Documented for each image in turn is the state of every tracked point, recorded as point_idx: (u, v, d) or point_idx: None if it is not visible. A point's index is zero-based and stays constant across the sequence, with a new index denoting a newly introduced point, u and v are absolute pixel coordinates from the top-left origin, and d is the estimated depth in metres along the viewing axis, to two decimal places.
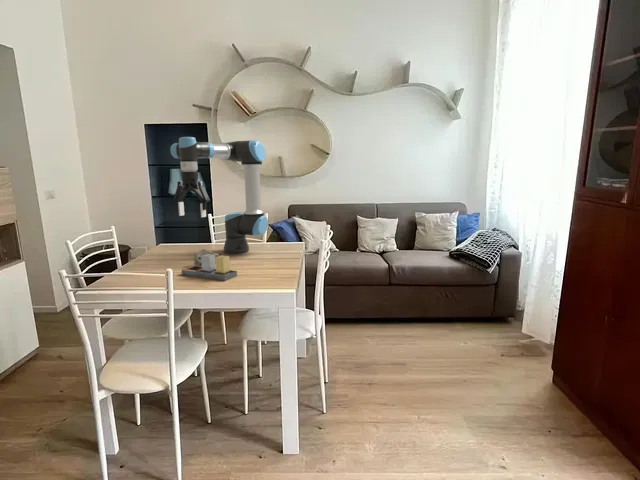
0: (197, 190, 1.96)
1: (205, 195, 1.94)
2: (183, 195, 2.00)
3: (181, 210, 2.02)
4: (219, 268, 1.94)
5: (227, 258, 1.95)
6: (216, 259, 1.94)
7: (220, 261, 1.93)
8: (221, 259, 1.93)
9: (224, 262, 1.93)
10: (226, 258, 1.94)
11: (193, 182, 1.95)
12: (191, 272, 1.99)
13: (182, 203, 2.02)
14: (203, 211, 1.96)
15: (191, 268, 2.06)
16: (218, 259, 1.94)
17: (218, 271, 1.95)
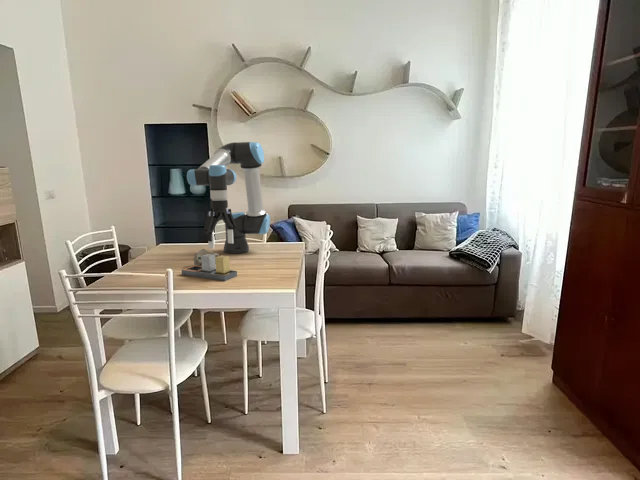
0: (213, 220, 1.88)
1: (206, 226, 1.84)
2: (226, 223, 1.96)
3: (229, 237, 1.99)
4: (219, 268, 1.94)
5: (227, 258, 1.95)
6: (216, 259, 1.94)
7: (220, 261, 1.93)
8: (221, 259, 1.93)
9: (224, 262, 1.93)
10: (226, 258, 1.94)
11: None
12: (191, 272, 1.99)
13: (230, 231, 1.98)
14: (210, 242, 1.87)
15: (191, 268, 2.06)
16: (218, 259, 1.93)
17: (218, 271, 1.95)
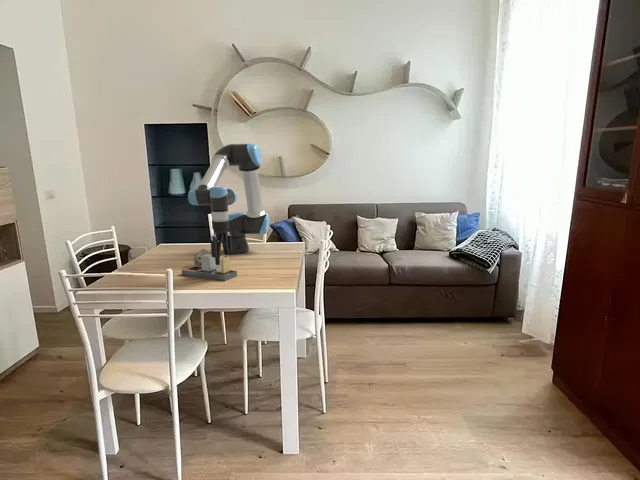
0: (217, 242, 1.91)
1: (212, 251, 1.89)
2: (224, 246, 1.96)
3: None
4: None
5: (227, 258, 1.95)
6: None
7: None
8: None
9: (224, 262, 1.93)
10: (226, 258, 1.94)
11: None
12: (191, 272, 1.99)
13: None
14: (218, 265, 1.93)
15: (191, 268, 2.06)
16: None
17: (218, 271, 1.95)
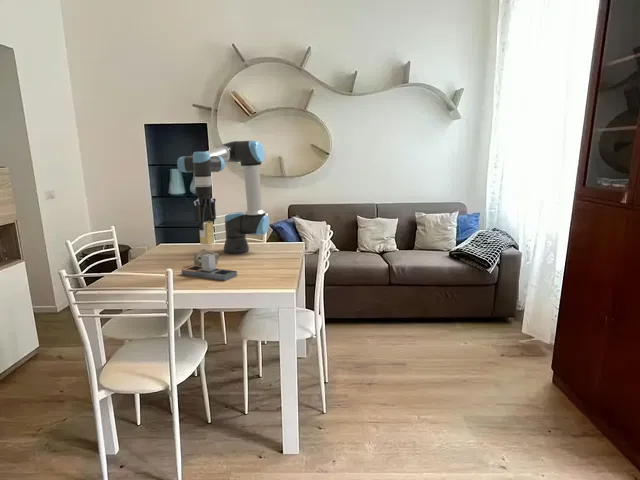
0: (200, 208, 1.93)
1: (196, 216, 1.90)
2: (208, 212, 1.97)
3: None
4: None
5: (211, 224, 1.96)
6: None
7: None
8: (205, 224, 1.94)
9: (208, 228, 1.95)
10: (210, 224, 1.96)
11: None
12: (191, 272, 1.99)
13: None
14: (201, 231, 1.94)
15: (191, 268, 2.06)
16: None
17: None
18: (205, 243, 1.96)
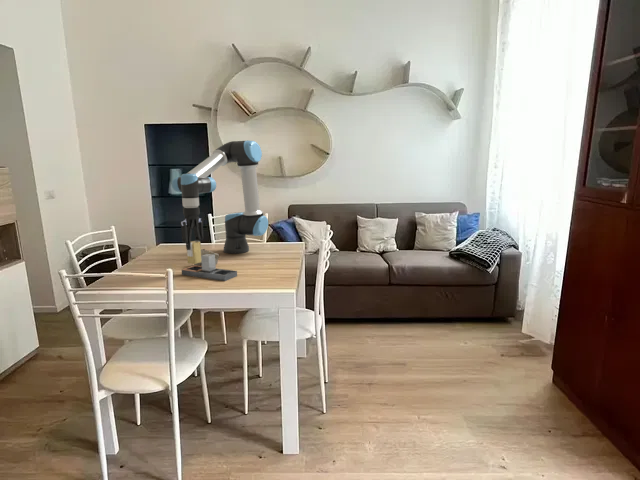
0: (188, 228, 1.98)
1: (183, 236, 1.96)
2: (195, 232, 2.02)
3: None
4: None
5: (198, 243, 2.01)
6: None
7: None
8: (192, 244, 1.99)
9: (195, 247, 2.00)
10: (197, 243, 2.01)
11: None
12: (191, 272, 1.99)
13: None
14: (188, 250, 2.00)
15: (191, 268, 2.06)
16: None
17: (189, 256, 2.01)
18: (192, 262, 2.01)
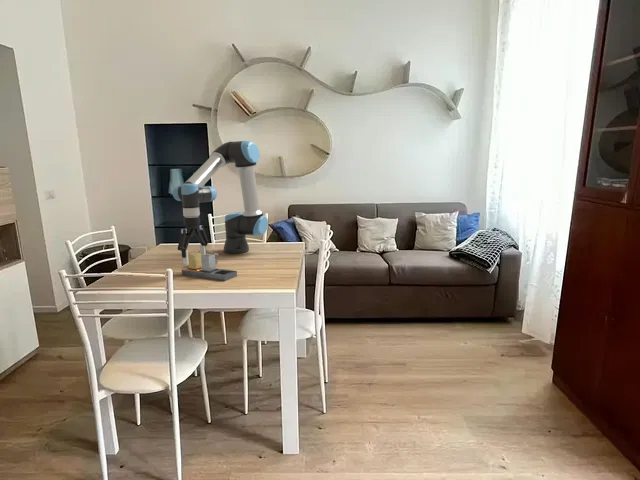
0: (186, 237, 1.98)
1: (179, 243, 1.94)
2: (199, 239, 2.05)
3: (201, 253, 2.08)
4: (191, 264, 2.02)
5: (199, 255, 2.03)
6: (188, 256, 2.02)
7: (192, 258, 2.01)
8: (193, 256, 2.00)
9: (196, 259, 2.01)
10: (198, 255, 2.02)
11: None
12: (191, 272, 1.99)
13: (202, 247, 2.07)
14: (184, 258, 1.97)
15: None
16: (190, 256, 2.01)
17: (190, 267, 2.02)
18: None
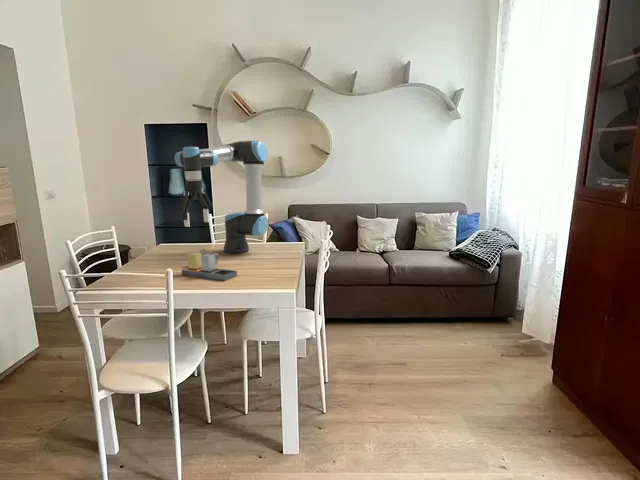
0: (188, 199, 1.98)
1: (181, 205, 1.94)
2: (202, 203, 2.06)
3: (205, 216, 2.09)
4: (191, 264, 2.02)
5: (199, 255, 2.03)
6: (188, 256, 2.02)
7: (192, 258, 2.01)
8: (193, 256, 2.00)
9: (196, 259, 2.01)
10: (198, 255, 2.02)
11: None
12: (191, 272, 1.99)
13: (206, 210, 2.08)
14: (185, 221, 1.97)
15: None
16: (190, 256, 2.01)
17: (190, 267, 2.02)
18: None
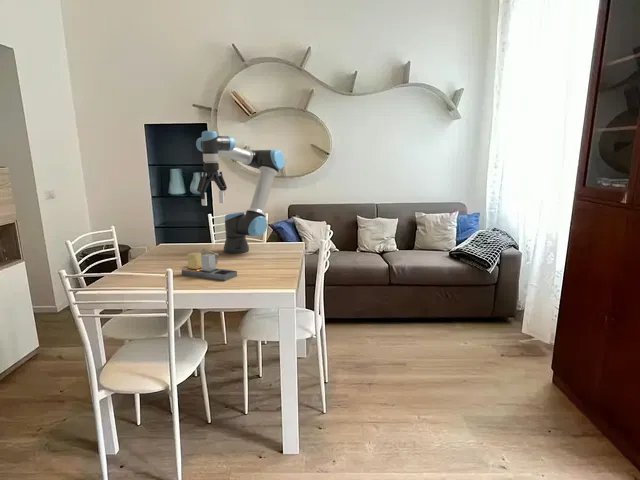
0: (206, 180, 2.12)
1: (199, 185, 2.08)
2: (218, 184, 2.20)
3: (220, 197, 2.23)
4: (191, 264, 2.02)
5: (199, 255, 2.03)
6: (188, 256, 2.02)
7: (192, 258, 2.01)
8: (193, 256, 2.00)
9: (196, 259, 2.01)
10: (198, 255, 2.02)
11: None
12: (191, 272, 1.99)
13: (221, 192, 2.22)
14: (203, 200, 2.11)
15: None
16: (190, 256, 2.01)
17: (190, 267, 2.02)
18: None
